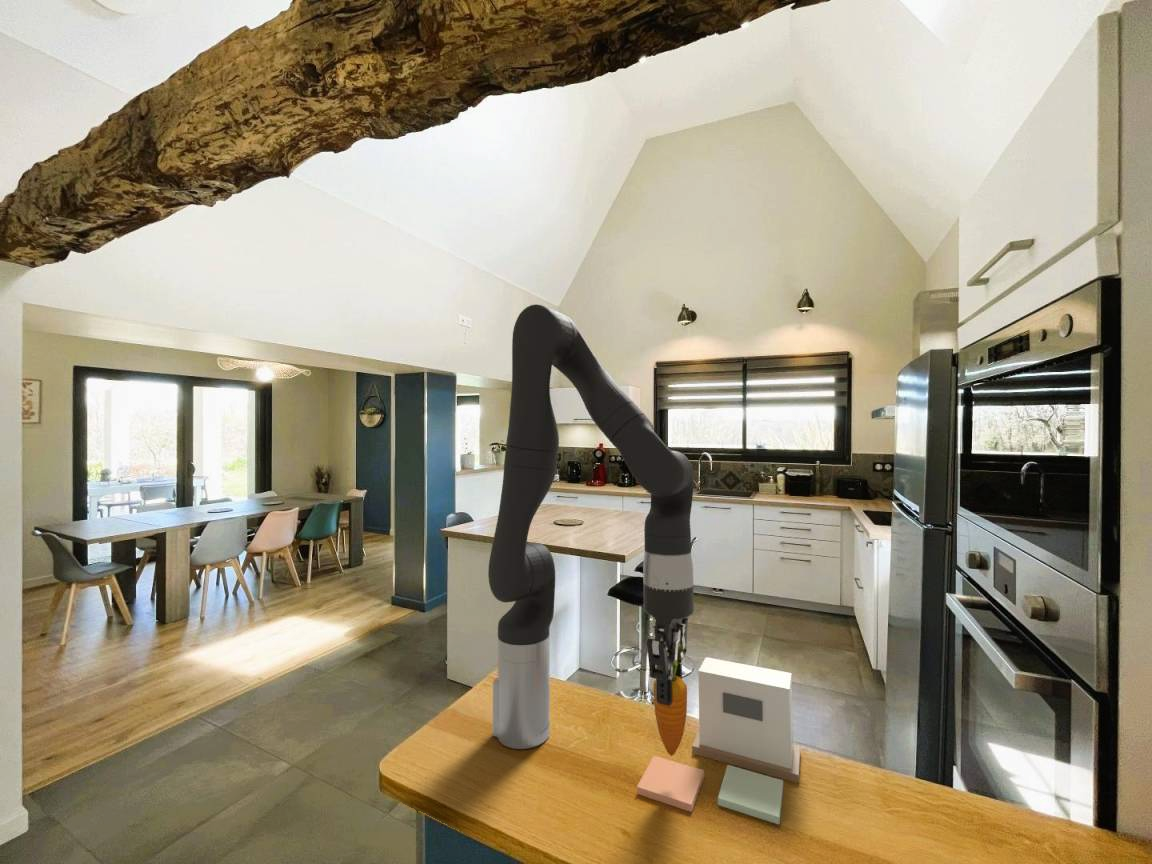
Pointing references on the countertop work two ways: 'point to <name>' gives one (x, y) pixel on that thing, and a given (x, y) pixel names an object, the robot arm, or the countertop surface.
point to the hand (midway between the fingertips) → (669, 694)
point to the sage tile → (751, 794)
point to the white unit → (747, 718)
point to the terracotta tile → (671, 783)
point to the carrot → (672, 714)
